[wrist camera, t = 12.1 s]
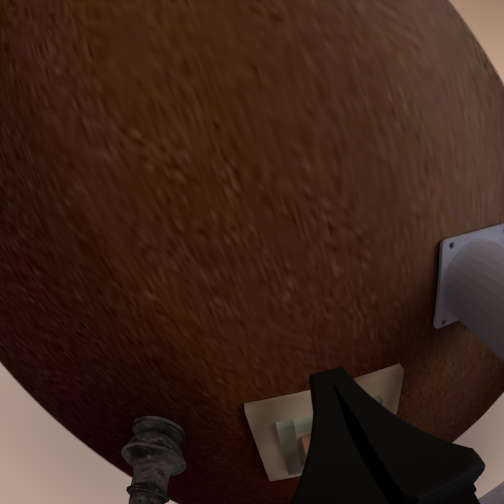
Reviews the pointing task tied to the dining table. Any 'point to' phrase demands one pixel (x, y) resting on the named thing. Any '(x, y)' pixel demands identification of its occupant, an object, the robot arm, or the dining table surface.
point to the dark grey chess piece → (153, 458)
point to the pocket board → (306, 421)
